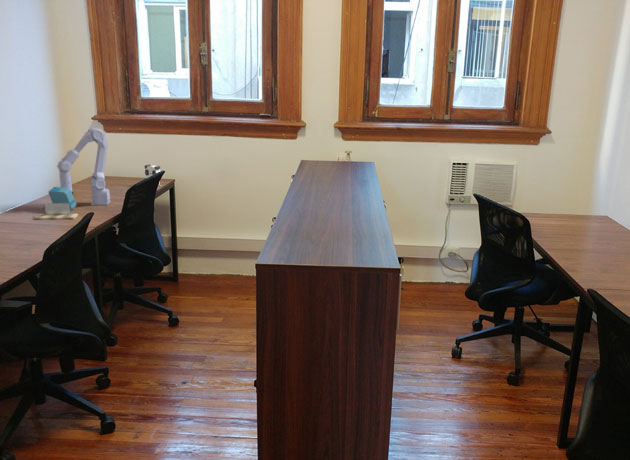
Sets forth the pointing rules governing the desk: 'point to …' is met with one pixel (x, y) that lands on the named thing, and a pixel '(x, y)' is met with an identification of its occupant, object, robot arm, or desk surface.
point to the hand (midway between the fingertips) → (68, 205)
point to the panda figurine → (151, 170)
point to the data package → (62, 196)
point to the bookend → (56, 212)
